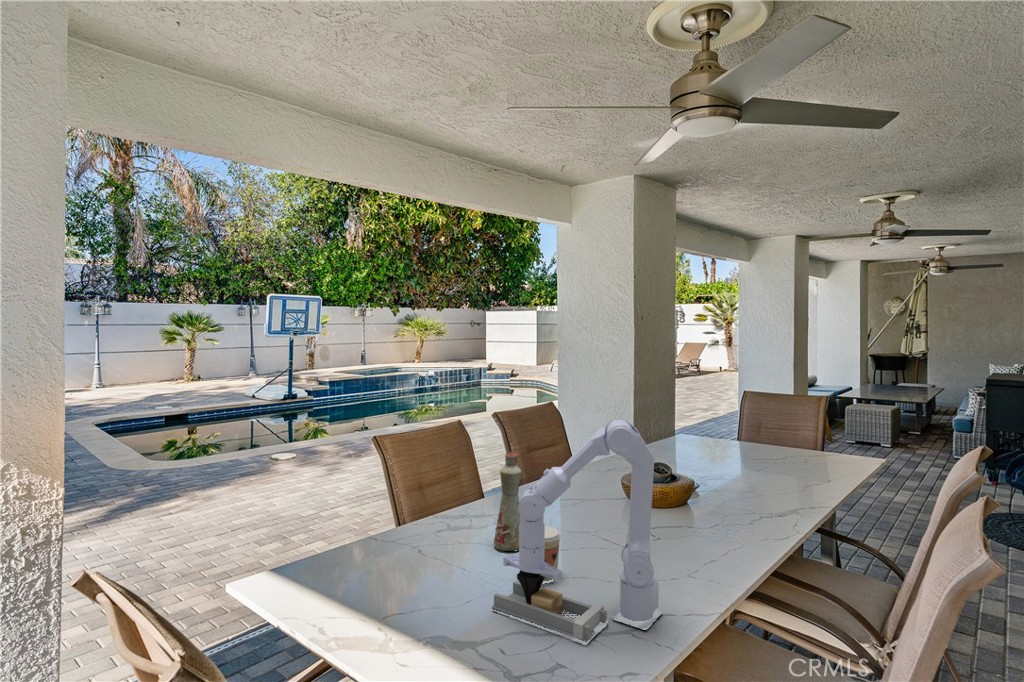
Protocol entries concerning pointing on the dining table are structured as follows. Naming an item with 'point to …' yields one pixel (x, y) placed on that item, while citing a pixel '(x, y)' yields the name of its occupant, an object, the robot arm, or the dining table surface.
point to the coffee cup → (551, 547)
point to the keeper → (547, 600)
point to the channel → (553, 614)
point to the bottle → (509, 506)
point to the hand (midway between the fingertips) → (531, 603)
